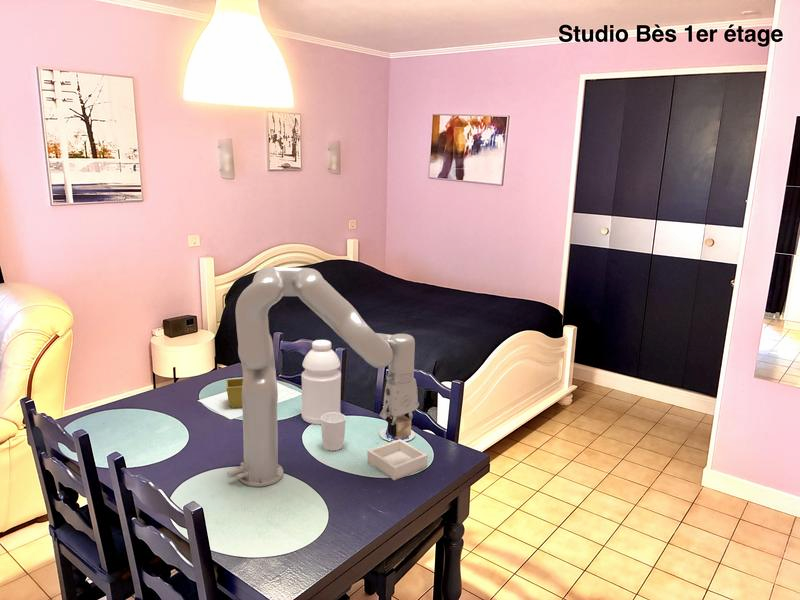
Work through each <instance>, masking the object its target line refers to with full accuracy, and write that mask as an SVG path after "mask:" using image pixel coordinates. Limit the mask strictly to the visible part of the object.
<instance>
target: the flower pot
mask: <svg viewBox="0 0 800 600" xmlns="http://www.w3.org/2000/svg"><path fill="white" fill-rule="evenodd" d="M242 383H243V377H241V378H240V377H239V378H229V379H226V380H225V384H226V385H225V386H226V393H227V400H228V403H229V405H230V407H233V408H232V409H234V408H235V407H238V408H242ZM235 409H236V408H235Z"/></svg>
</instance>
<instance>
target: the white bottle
mask: <svg viewBox="0 0 800 600" xmlns="http://www.w3.org/2000/svg"><path fill="white" fill-rule="evenodd" d="M340 367H341V362H340V359H339V356H338V355H337V353H336V352H335V351H334V349H332V342H331V341H330V340H327V339H315V340H314V341H312V343H311V349H310V350H309V351H308V352H307V353H306V355H305V357H304V359H303V361H302V368H303V369H304V370H303V371H302V372H301V419H302V420H303V421H304V422H307V424H308V423H309V424H313V425H321V416H322V415H324V414H326V413H332V412H335V413H341V392H342V391H341V389H342V388H341V387H342V372H341V371H340V370H339V368H340ZM341 414H342V413H341Z"/></svg>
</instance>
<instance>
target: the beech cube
mask: <svg viewBox="0 0 800 600" xmlns="http://www.w3.org/2000/svg"><path fill="white" fill-rule="evenodd" d="M391 419H392V416H391ZM395 424H396V437H395V438H397V439H401V438H403V437H406V436H408V437H409V436H410V435H411V430H412V419H410V418H408V417H406V416H404V414H403V415H400V416H397V417H396V421H395Z"/></svg>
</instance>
